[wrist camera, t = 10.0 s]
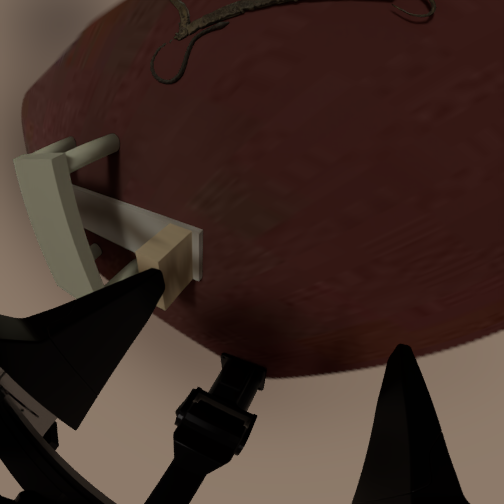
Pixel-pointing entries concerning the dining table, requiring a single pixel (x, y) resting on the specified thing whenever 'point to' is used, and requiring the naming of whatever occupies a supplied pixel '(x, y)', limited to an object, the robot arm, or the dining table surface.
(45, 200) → the miniature white bench
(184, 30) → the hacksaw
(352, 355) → the dining table surface
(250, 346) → the dining table surface
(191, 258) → the scraper
